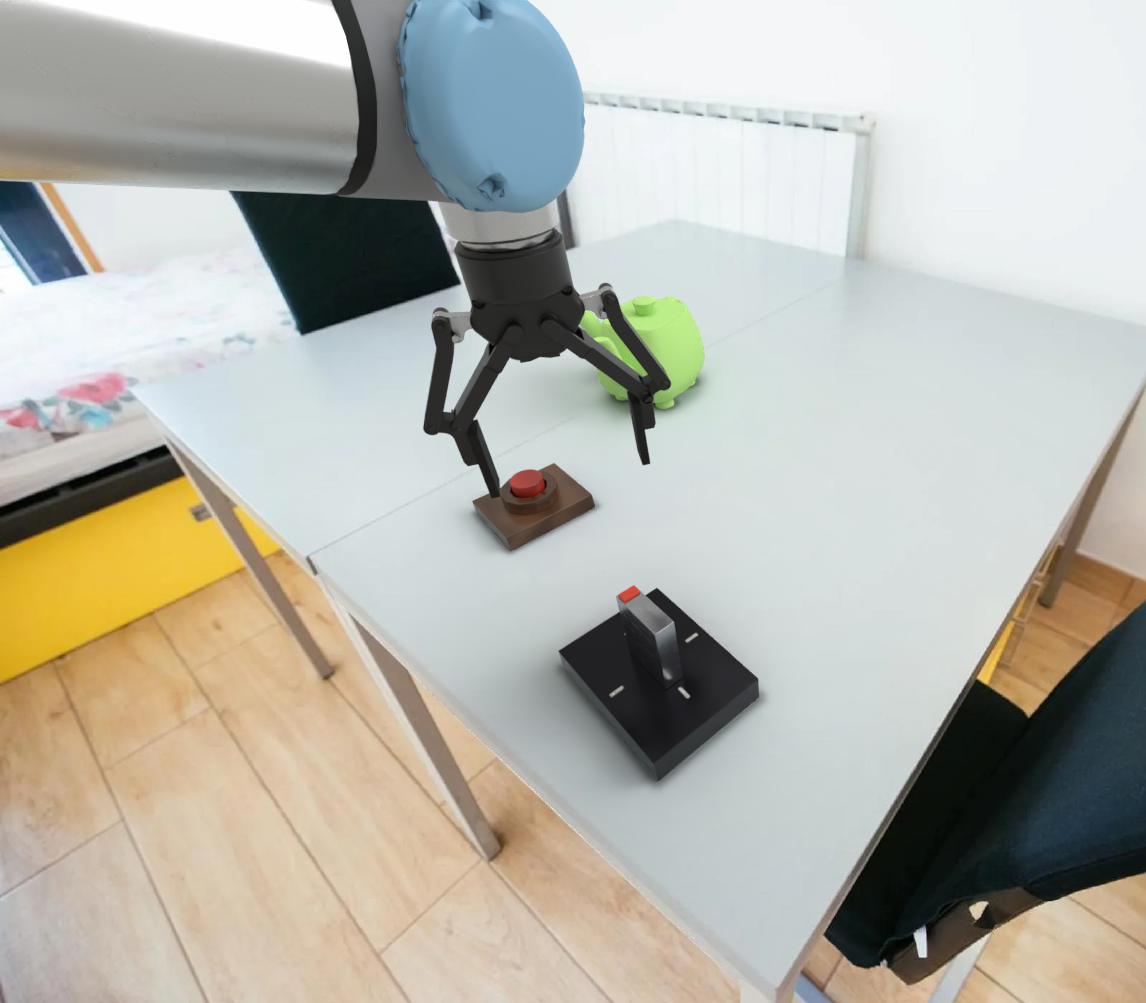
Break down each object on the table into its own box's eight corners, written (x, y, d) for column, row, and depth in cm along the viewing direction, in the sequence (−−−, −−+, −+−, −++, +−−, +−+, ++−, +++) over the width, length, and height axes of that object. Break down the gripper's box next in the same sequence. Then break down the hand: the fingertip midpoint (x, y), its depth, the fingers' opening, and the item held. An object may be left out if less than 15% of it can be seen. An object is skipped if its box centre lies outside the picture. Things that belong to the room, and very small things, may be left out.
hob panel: (658, 781, 53) (653, 763, 51) (564, 669, 63) (557, 649, 61) (759, 697, 60) (758, 677, 58) (660, 605, 69) (656, 586, 67)
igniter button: (522, 503, 78) (518, 492, 77) (507, 489, 80) (504, 478, 79) (550, 489, 80) (547, 478, 79) (535, 475, 82) (532, 465, 81)
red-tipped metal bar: (683, 677, 58) (673, 620, 53) (666, 690, 57) (654, 633, 52) (645, 639, 61) (633, 582, 56) (629, 651, 60) (615, 594, 55)
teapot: (622, 350, 119) (607, 266, 108) (724, 368, 112) (719, 280, 102) (540, 415, 101) (514, 322, 91) (655, 441, 94) (641, 343, 84)
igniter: (511, 551, 76) (502, 527, 74) (476, 513, 82) (467, 490, 79) (595, 507, 82) (589, 483, 80) (557, 475, 88) (551, 452, 86)
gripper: (666, 200, 50) (691, 425, 63) (322, 242, 44) (431, 478, 57) (690, 226, 44) (711, 465, 58) (300, 277, 38) (426, 530, 52)
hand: (571, 472), depth 58 cm, fingers open, 13 cm apart
